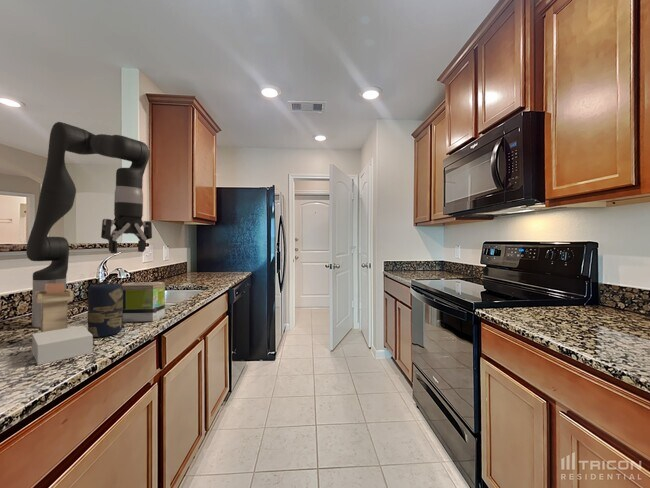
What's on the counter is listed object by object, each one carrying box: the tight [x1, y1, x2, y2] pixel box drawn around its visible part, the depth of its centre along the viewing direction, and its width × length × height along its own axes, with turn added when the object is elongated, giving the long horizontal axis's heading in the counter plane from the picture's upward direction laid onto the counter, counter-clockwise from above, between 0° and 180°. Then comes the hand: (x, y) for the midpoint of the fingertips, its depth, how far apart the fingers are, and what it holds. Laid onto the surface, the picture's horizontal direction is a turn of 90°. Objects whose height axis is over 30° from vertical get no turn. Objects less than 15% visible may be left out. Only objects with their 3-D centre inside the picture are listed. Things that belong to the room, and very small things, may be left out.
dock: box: [31, 325, 94, 366], centre depth 81 cm, size 14×11×5 cm
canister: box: [87, 281, 124, 338], centre depth 97 cm, size 10×10×18 cm
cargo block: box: [45, 283, 64, 294], centre depth 91 cm, size 4×4×4 cm
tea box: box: [121, 281, 166, 323], centre depth 117 cm, size 15×10×15 cm
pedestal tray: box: [35, 288, 74, 332], centre depth 91 cm, size 8×8×16 cm
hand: (127, 252), depth 92 cm, fingers open, 8 cm apart
